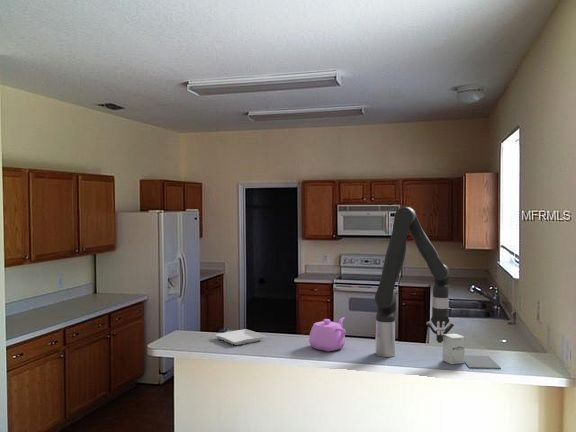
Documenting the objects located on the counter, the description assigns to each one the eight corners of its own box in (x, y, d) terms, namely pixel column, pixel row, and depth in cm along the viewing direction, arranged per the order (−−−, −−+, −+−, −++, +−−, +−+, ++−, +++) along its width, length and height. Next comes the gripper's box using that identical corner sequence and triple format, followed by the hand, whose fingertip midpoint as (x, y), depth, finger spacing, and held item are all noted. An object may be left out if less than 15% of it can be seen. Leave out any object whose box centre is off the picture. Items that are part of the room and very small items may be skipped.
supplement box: (451, 364, 228) (451, 337, 228) (442, 360, 235) (442, 333, 235) (464, 363, 230) (465, 336, 230) (455, 358, 237) (455, 333, 237)
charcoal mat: (469, 368, 223) (469, 367, 223) (459, 356, 241) (459, 355, 241) (500, 369, 222) (500, 367, 222) (488, 356, 240) (488, 355, 240)
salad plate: (245, 333, 288) (245, 328, 288) (266, 341, 271) (266, 335, 271) (214, 340, 275) (214, 334, 275) (234, 348, 258) (234, 342, 258)
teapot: (334, 356, 242) (334, 326, 242) (304, 347, 257) (304, 319, 257) (362, 347, 258) (362, 318, 258) (332, 339, 273) (332, 312, 273)
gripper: (427, 307, 230) (426, 344, 230) (456, 308, 229) (455, 345, 229) (424, 304, 237) (424, 339, 238) (452, 305, 236) (451, 340, 236)
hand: (439, 342), depth 233 cm, fingers closed
